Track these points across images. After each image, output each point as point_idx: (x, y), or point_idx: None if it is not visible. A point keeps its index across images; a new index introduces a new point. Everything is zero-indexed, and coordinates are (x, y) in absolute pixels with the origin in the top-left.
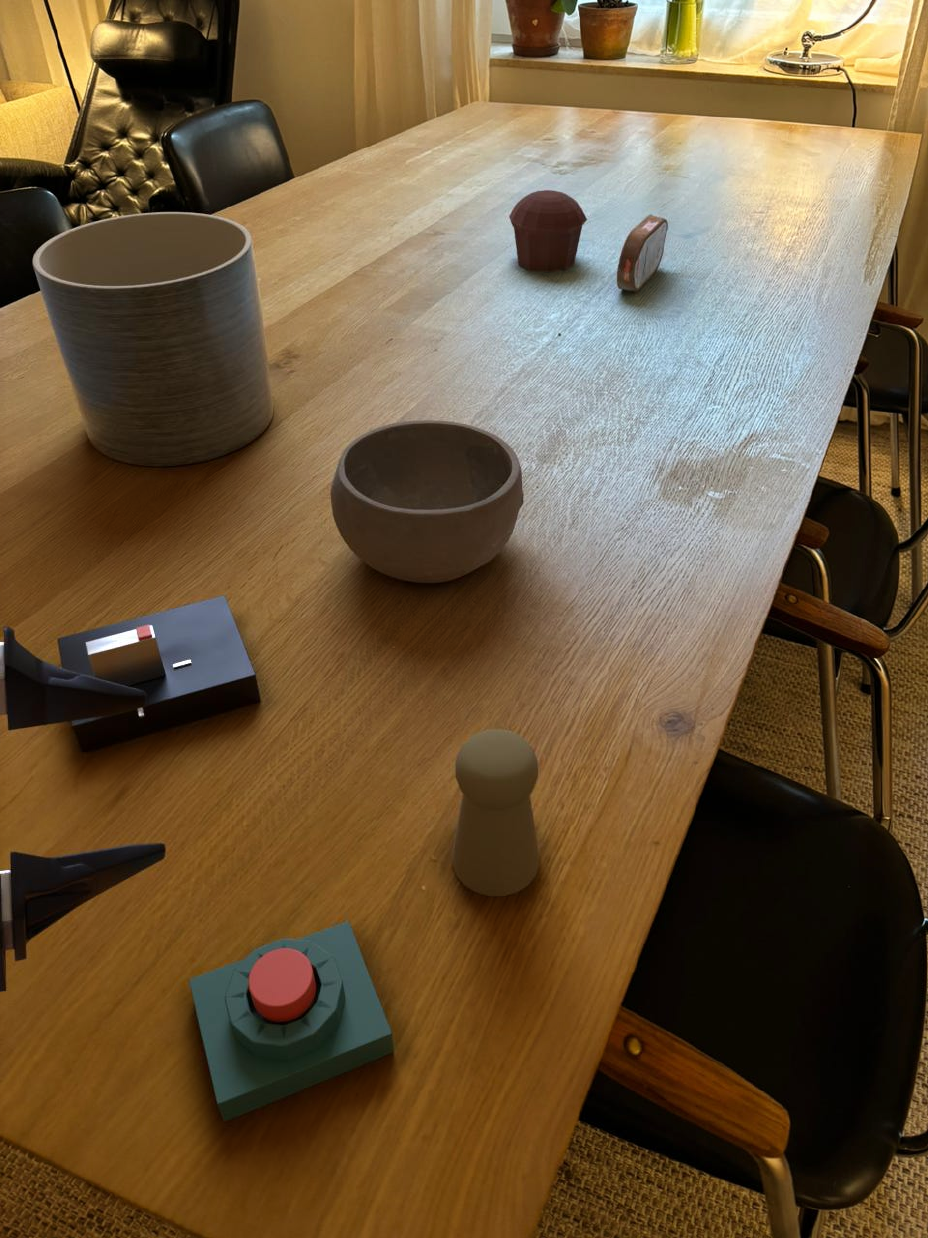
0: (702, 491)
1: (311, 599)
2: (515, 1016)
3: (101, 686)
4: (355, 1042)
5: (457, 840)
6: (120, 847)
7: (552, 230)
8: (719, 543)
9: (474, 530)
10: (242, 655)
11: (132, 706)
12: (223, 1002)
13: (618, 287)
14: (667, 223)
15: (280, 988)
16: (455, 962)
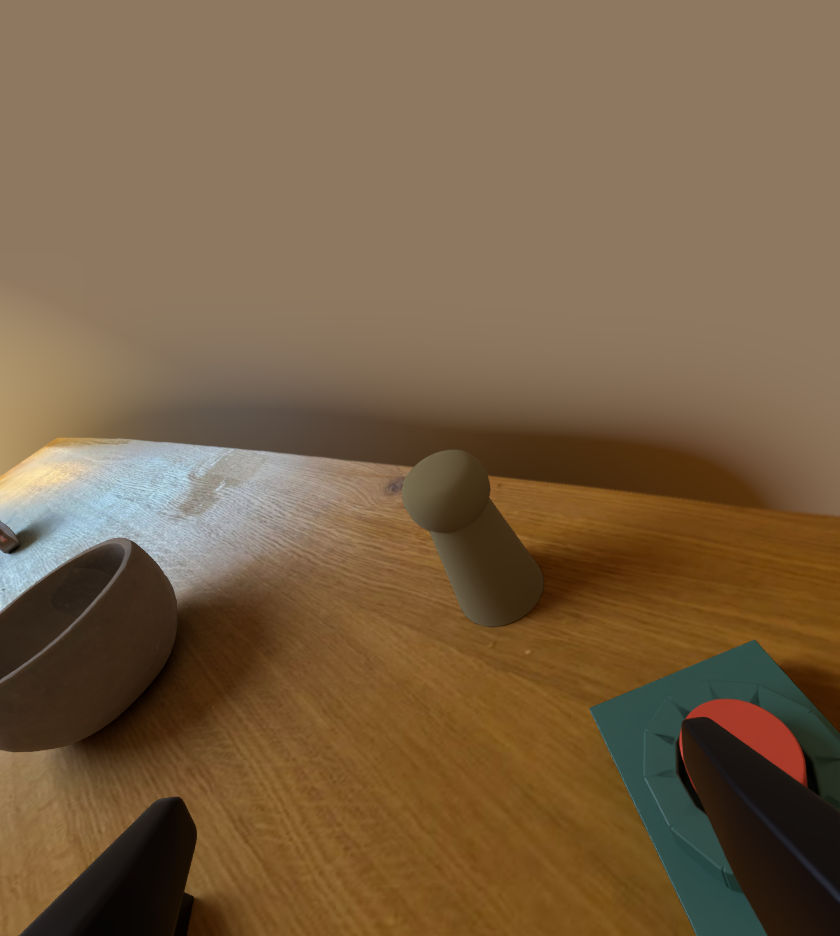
0: (212, 493)
1: (86, 818)
2: (681, 557)
3: (49, 933)
4: (782, 682)
5: (488, 592)
6: (777, 822)
7: None
8: (259, 481)
9: (147, 577)
10: None
11: (179, 866)
12: None
13: (4, 551)
14: None
15: (762, 746)
16: (623, 613)
